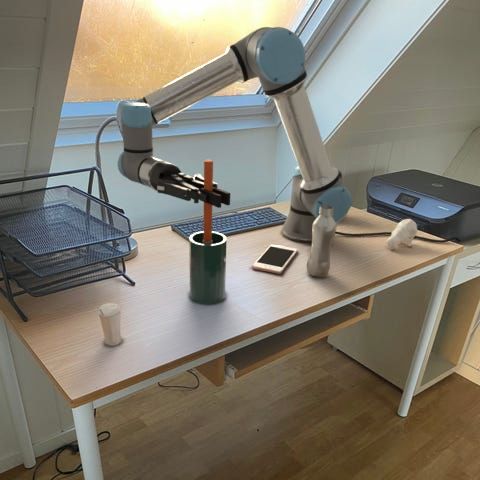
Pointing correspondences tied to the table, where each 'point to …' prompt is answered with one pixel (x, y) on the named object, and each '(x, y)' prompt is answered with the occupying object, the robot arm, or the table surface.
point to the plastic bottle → (321, 242)
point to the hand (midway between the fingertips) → (224, 200)
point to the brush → (207, 207)
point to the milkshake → (110, 323)
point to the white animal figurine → (402, 234)
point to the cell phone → (274, 259)
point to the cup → (207, 268)
